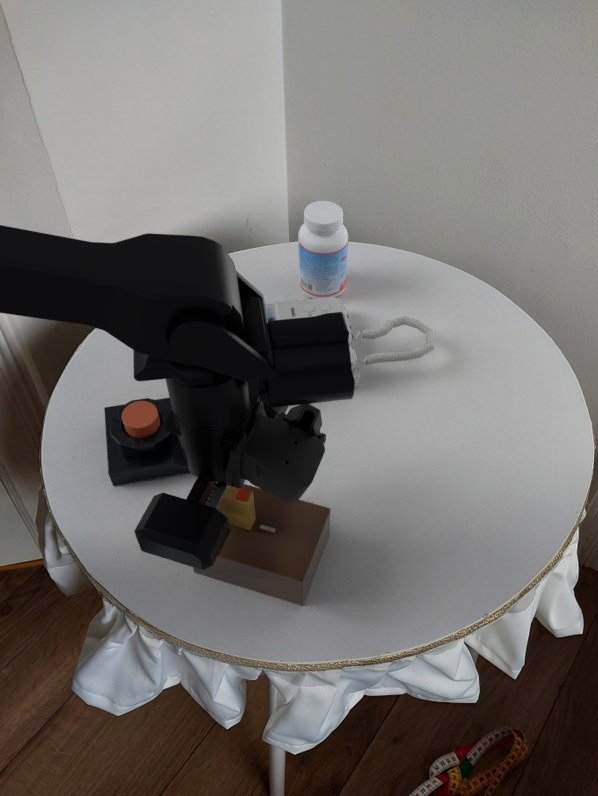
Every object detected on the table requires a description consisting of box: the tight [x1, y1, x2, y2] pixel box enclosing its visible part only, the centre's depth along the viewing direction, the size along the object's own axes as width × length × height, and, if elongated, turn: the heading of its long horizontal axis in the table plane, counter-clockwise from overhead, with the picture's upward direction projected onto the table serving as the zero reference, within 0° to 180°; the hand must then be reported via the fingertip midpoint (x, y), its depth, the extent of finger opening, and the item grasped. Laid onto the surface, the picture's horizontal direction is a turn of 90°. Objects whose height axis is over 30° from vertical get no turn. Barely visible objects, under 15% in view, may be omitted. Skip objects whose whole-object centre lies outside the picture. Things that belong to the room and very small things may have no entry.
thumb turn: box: [206, 482, 256, 530], centre depth 65 cm, size 5×1×5 cm, turn 72°
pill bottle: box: [297, 200, 349, 299], centre depth 90 cm, size 6×6×11 cm
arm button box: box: [103, 397, 192, 487], centre depth 77 cm, size 12×9×4 cm
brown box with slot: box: [192, 483, 332, 606], centre depth 69 cm, size 13×8×5 cm, turn 72°
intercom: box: [265, 297, 435, 389], centre depth 85 cm, size 13×4×25 cm
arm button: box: [122, 401, 160, 438], centre depth 74 cm, size 4×4×2 cm
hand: (228, 512), depth 66 cm, fingers open, 9 cm apart
